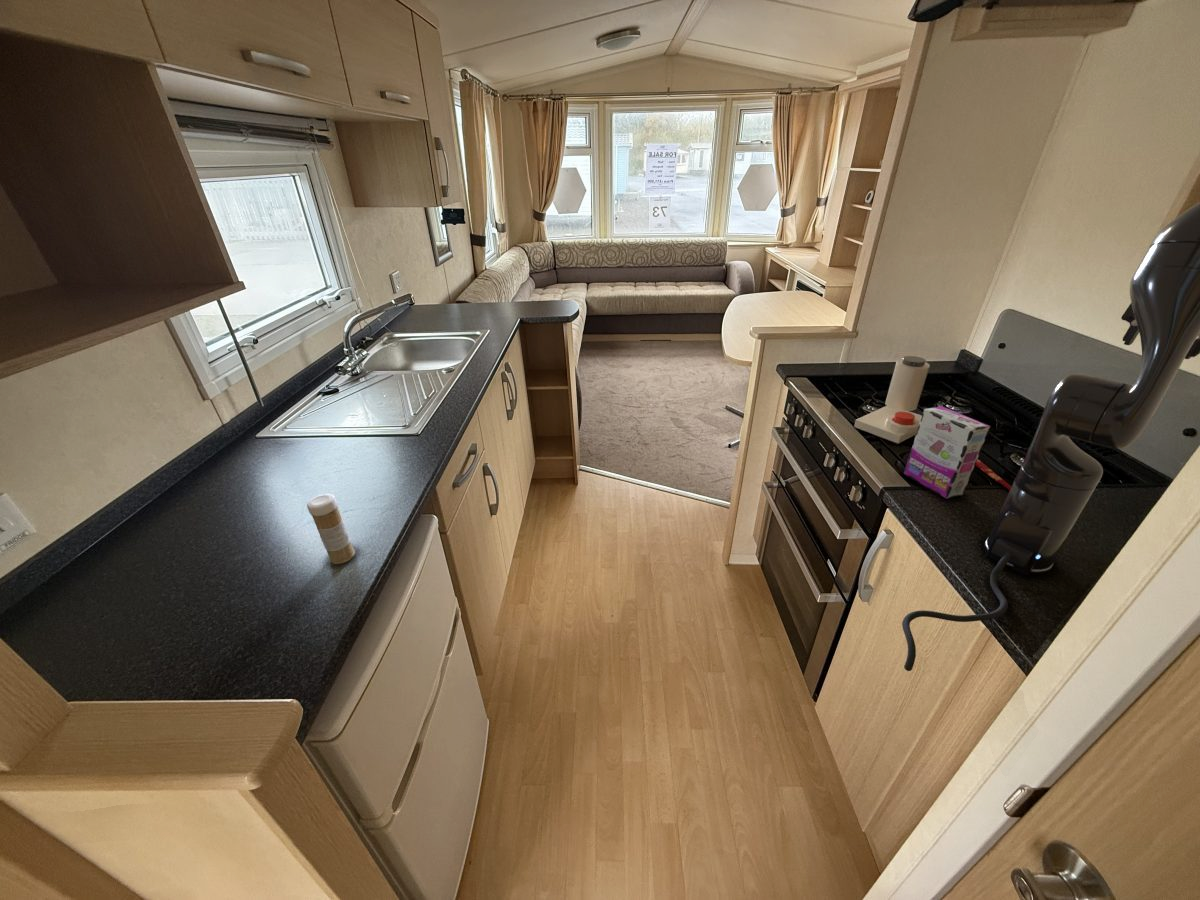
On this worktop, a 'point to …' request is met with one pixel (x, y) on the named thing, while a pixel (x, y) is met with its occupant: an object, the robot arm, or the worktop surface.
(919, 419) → the cream square base
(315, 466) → the worktop surface
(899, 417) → the switch
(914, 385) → the white canister
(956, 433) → the candy bar box
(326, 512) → the sprinkles bottle
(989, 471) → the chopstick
